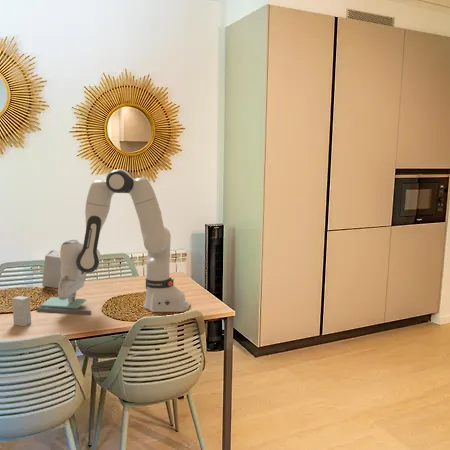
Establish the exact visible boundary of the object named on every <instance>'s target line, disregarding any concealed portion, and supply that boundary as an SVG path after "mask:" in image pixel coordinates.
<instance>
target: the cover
mask: <svg viewBox="0 0 450 450" xmlns="http://www.w3.org/2000/svg"><path fill="white" fill-rule="evenodd" d="M45 301H46V302H45ZM45 301H44V302H42V303H43V304H42V303H41V304H42V305H41V304H40V305H41V307H44V308H61V309H78V308H80V307H81V306H82V305H83V304H84V303H85V302H86V301H87V299H86V298H75V301H73V302H72V303H69V302H68V298H59V297H51V296H50V297H49V298H48V299H47V300H45Z"/></svg>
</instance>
